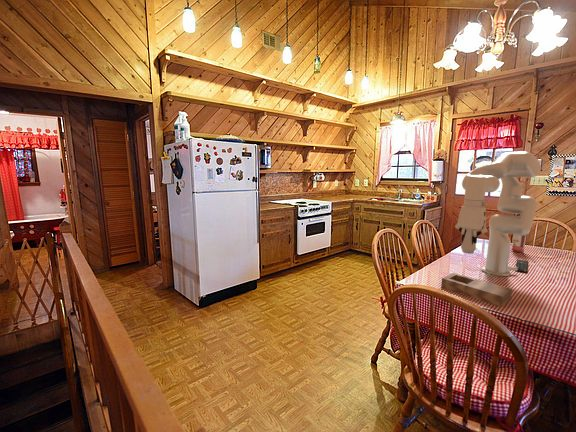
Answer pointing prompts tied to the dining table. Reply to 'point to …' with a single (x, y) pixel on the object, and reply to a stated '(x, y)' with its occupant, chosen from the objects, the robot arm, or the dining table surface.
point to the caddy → (477, 289)
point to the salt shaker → (468, 242)
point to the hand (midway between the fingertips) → (468, 243)
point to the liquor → (518, 243)
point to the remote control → (522, 266)
